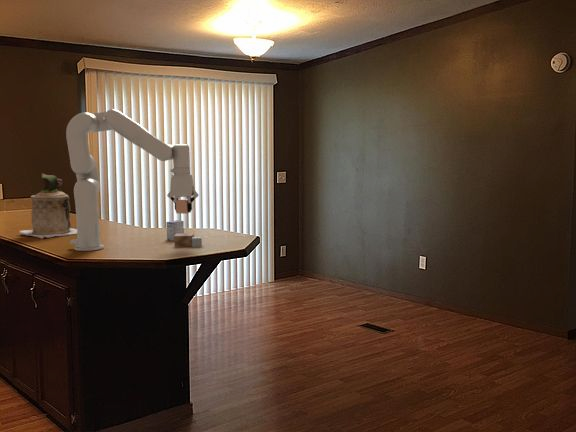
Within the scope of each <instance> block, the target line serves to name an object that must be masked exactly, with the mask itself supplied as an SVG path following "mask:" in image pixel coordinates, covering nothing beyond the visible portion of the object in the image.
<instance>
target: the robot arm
mask: <svg viewBox="0 0 576 432" xmlns="http://www.w3.org/2000/svg"><path fill="white" fill-rule="evenodd" d="M106 131H107V132H108V131H114V132H115V133H117V134H119V136H122V137H123V138H124V139H126V140H127V141H129V142H130V143H131V144H133V145H135V146H136V147H139V148H140V149H142V150H143V151H145V152H147V154H148V153H149V155H151V156H153V157H154V158H155V159H157V160H159V161H161V162H167V161H171V160H172V168H171V169H170V172H171V173H172V174H171V177H170V187H169V188H170V189H169V190H170V191H169V192H168V193H167V198H169V199H170V200H171V201H172V202H173V203H174V210H175V211H176V200H179V199H180V198H186V199H187V200H188V203H187V210H188V212H190V211H191V212H192V210H193V202H194V201H195V200H196V199H197V198H198V197H199V195H200V194H199V193H198V192H197V191H196V190H195V183H194V178H193V174H192V173H191V159H190V158H191V155H190V154H191V153H190V146H189V145H188V144H185V143H182V144H181V143H179V144H178V143H176V144H167V143H165V142H163V141H162V140H161V139H159V138H158V137H156V136H154V135H153V134H152V133H150V132H149V131H148V130H147V129H146V128H145V127H144V126H142V125H141V124H139V123H138V122H136V121H135V120H133V119H132V118H130V117H128V116H127V115H125V114H124V113H122V112H121V111H119V110H118V109H115V108H111V109H108V110H107V111H102V112H93V113H90V112H80V113H78V114H76V115H74V116H73V117H72V118H71V119H70V120H69V122H68V123H67V126H66V130H65V132H66V133H65V134H66V135H65V137H66V142H67V143H66V144H67V148H68V149H67V150H68V155H69V160H70V161H69V163H70V168H71V170H72V172H73V173H75V176H76V182H75V184H74V187H73V194H74V195H73V196H74V204H75V219H76V229H77V234H76V236H77V238H76V239H70V242H69V244H71V245H75V246H74V247H73V248H74V251H78V252H93V251H97V250H98V251H100V250H103V249H104V248H105V245H104V244H101V231H100V229H101V228H100V212H99V210H100V209H99V200H98V194H99V193H100V190H101V182H100V177H99V172H98V167H97V162H96V160H95V158H94V157H93V156H92V155H91V153H90V147H89V141H88V133H89V134H90V133H98V132H106ZM191 212H190V213H191Z"/></svg>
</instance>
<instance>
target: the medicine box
mask: <svg viewBox="0 0 576 432" xmlns="http://www.w3.org/2000/svg"><path fill="white" fill-rule="evenodd" d="M165 224H166V225H165V226H166V240H168V239H169V240H170V241H174V236H175V235H176V234H177V233H185V226H184V220H181V219H180V220H178V219H177V220H170V221H166V223H165Z"/></svg>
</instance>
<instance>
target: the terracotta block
mask: <svg viewBox="0 0 576 432" xmlns="http://www.w3.org/2000/svg"><path fill="white" fill-rule="evenodd" d="M187 203H188V200H187V198H179V200H176V210H175V213H176V214H183V215H184V214H189V213H191V212H192V210H191V211H190V212H188V210H187Z"/></svg>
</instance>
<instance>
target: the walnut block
mask: <svg viewBox="0 0 576 432" xmlns="http://www.w3.org/2000/svg"><path fill="white" fill-rule="evenodd" d="M194 234H195V233H194V232H191V233H190V232H186V233H185V232H184V233H177V234H176V235H175V236H174V240H173V241H174V246H179V247H192V238H193V237H195V235H194Z"/></svg>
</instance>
